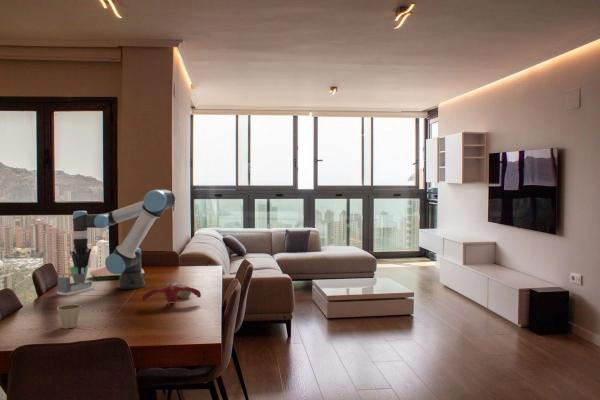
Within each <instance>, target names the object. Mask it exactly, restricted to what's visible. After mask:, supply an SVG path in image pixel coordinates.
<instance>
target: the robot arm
mask: <svg viewBox="0 0 600 400" xmlns="http://www.w3.org/2000/svg"><path fill="white" fill-rule="evenodd" d="M175 204H176V197H175V195H174V193H173V192H172V191H171V190H169V189H153V190H150V191H148V192H147V193H146V194H145V195H144V197H143V200H141V201H139V202H136V203H133V204H130V205H126V206H125V207H122V208H118V209H115V210H112V211H110V212H105V213H100V214H88V212H87V211H86V210H76V211H73V213H72V229H73V231H72V232H73V233H72V235H73V241H72V243H73V249H72V251H70V252H69V253H70V255H71V259H72V263H73V267H76V268H78V274H84V273H85V268H86V266H88V265H89V262H90V261H89V260H90V255H91V252H92V249H91V248H89V247H88V245H89V242H88V241H89V239H88V235H89V234H88V229H89V228H90V229H104V228H107V227H110V226H114V225H116V224H118V223H121V222H124V221H127V220H131V219H134V218H136V217H138V218H137V219H136V220H135V222H134V223H133V225H132V227H131V229H130V230H129V232H128V234H127V235H126V236H125V238H124V240H123V242H122V243H121V244H119V245H117V246H116V247H115V248H114V251H113V252H112V253H110V254H109V255H108V256H107V257H106V259H105V262H104V263H105V265H104V266H105V267H106V268H107V270H108V271H109V272H110V273H112V274H121V275H119V279H118V283H117V288H118V289H120V290H121V289H122V290H129V289H130V290H131V289H140V288H143V287H145V285H146V282H145V280H144V275H143V276H142V271H141V269H142V249H141V248H140V245H141V244H142V242H143V240H144V239H145V237H146V236H147V234H148V232H149V231H150V229H151V227H152V226H153V224H154V223H155V221H156V220H157V219H160V218H161V217H162V215H163V214H164V212H165V211H167V210H170V209H172V208H173V207H174V205H175ZM88 267H89V266H88Z"/></svg>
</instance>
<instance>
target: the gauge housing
mask: <svg viewBox="0 0 600 400" xmlns="http://www.w3.org/2000/svg"><path fill="white" fill-rule="evenodd" d="M72 283H73V282H71V277H68V276H57V292H56V294H57V295H62V296H66V295H67V297H68V296H71V295H76V294H80V293H83V292H84V293H85V292H89V291H93V290H95V286H93V285H92V284H93V283H92V281H85V283H82V284H77V285H73V286H70V284H72ZM74 283H78V282H74Z"/></svg>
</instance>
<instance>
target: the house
mask: <svg viewBox="0 0 600 400" xmlns="http://www.w3.org/2000/svg"><path fill="white" fill-rule="evenodd" d="M141 271H142V276H143V277H144V274H145V271H144V269H143V268H141ZM89 275H90V276H92V279H95V278H97V280H103V279H104V281H105V280H106V281H107V279H110V276H111V279H114V276H120V275H121V274H112V273H110V272H109V271H108V270H107V268H106V266H105V267H101V268H99V269H95V270H91V271H89ZM100 276H101V277H100ZM102 278H103V279H102Z"/></svg>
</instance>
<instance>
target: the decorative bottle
mask: <svg viewBox="0 0 600 400" xmlns="http://www.w3.org/2000/svg"><path fill="white" fill-rule="evenodd" d="M168 286H178V287H182V288H183V287H184V288H185V287H189V288H191V287H190V286H189V285H184V284H183V283H179V282H177V281H171V282H169V283H166V284H165V288H166V287H168ZM191 294H192V292H189V291H185V290H184V291H179V292H178V293H177V297H179V299H182V300H186V299H188V298H189V297H190V296H191Z"/></svg>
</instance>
